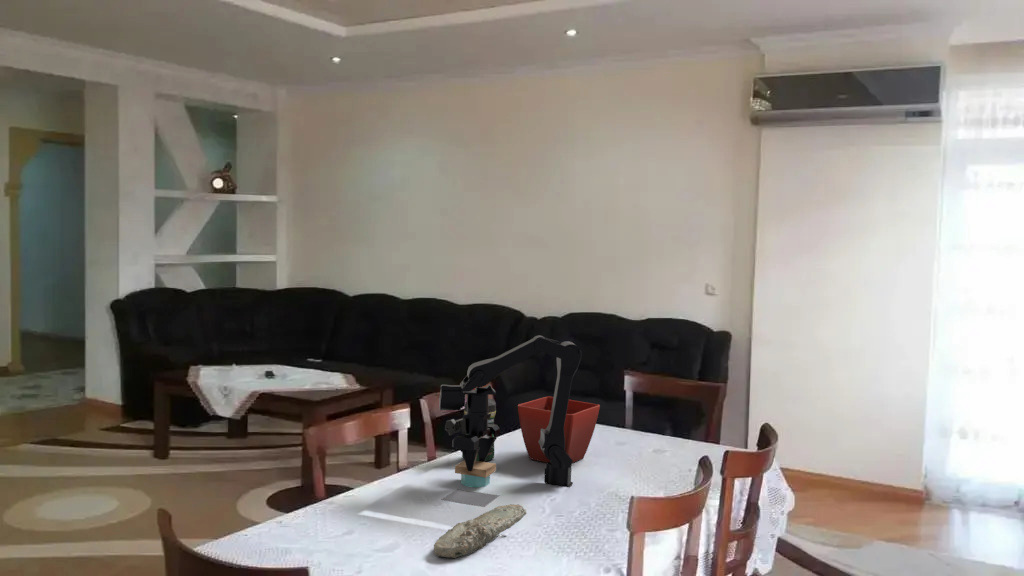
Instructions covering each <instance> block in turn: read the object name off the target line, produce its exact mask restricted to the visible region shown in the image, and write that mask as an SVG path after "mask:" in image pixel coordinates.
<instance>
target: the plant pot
mask: <svg viewBox="0 0 1024 576" xmlns="http://www.w3.org/2000/svg"><path fill="white" fill-rule="evenodd" d="M553 398H554V396H545V397H540V398H537V399H533V400H530V401H527V402H523V403H518V405H517V412H518V419H519V425H520V430H521V434H522V439H523V443H524V446H525V449H526V452H527V455H528V459H530V460H534V461H539V462H543V463H546V464H547V463H548V462H549V461H550V460H548V459H547V458H546V457H545V455H544V453H543V452H542V450H541V447H540V444H539V442H538V441H539V440H540V437H541V429H545V430H546V428H547V426H548V424H549V421H550V415H551V409H552V404H553ZM600 408H601V405H600V404H599V403H598V404H596V403H592V402H584V401H580V400H572V399H569V401H568V407H567V413H566V418H565V424H564V435H565V451H566V452H567V453H568V455H569V456H570V457H571V459H572V460H573V462H572V464H573V463H576V462H578V461H580V460H582V459H584V458H585V455H586V453H587V451H588V449H589V446H590V443H591V441H592V438H593V434H594V431H595V428H596V424H597V422H598V421H597V420H598V418H599V414H600V413H599V411H600Z"/></svg>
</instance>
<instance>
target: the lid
mask: <svg viewBox="0 0 1024 576" xmlns="http://www.w3.org/2000/svg"><path fill="white" fill-rule="evenodd" d="M496 471H497V463H493V462H487V461H485V462H481V461H475V464H474V467H473V469H472V471H468V470H467V466H466V463H465V459H463V461H461V462H459V463H457V464H455V465H454V473H455V474H460V475H461V474H465V475H472V476H478V477H485V478H486V477H488V476H489V475H490V476H491V475H492V474H494V473H495V472H496Z"/></svg>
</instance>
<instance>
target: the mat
mask: <svg viewBox="0 0 1024 576" xmlns="http://www.w3.org/2000/svg"><path fill="white" fill-rule="evenodd" d="M499 497H500V495H498V494H493V493H488V492H487V493H485V492H479V491H474V490H466V489H461V488H460V489H459V488H457V489H455V490H453V491H452V492H451V493H449V494H447V495H446V496H445V497H443V498H441V499H440V501H445V502H451V503H452V502H453V503H458V504H463V505H470V506H476V507H482V508H485V507H486V506H487V505H489V504H490V503H492V502H493V501H494V500H496V499H498V498H499Z"/></svg>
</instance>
